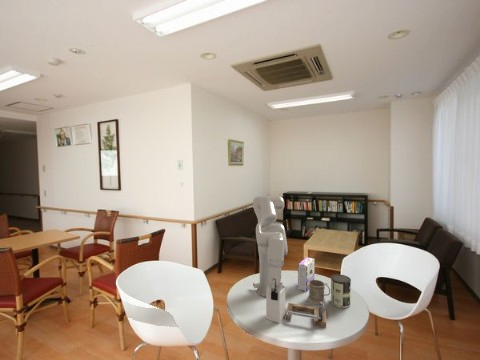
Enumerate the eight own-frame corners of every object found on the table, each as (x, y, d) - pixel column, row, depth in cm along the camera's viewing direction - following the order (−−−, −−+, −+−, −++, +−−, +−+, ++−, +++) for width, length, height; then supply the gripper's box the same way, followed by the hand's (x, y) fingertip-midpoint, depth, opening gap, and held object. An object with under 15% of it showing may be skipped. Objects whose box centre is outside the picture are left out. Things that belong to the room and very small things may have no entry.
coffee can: (348, 298, 145) (348, 274, 144) (352, 309, 135) (352, 283, 134) (329, 297, 147) (329, 273, 146) (331, 306, 137) (332, 281, 136)
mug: (303, 298, 146) (304, 277, 146) (316, 293, 151) (316, 274, 151) (323, 310, 134) (323, 288, 133) (336, 305, 139) (336, 283, 138)
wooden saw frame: (285, 320, 125) (285, 315, 125) (288, 307, 137) (288, 302, 137) (326, 327, 120) (326, 322, 120) (325, 313, 131) (325, 308, 131)
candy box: (305, 281, 168) (306, 256, 166) (314, 283, 164) (315, 258, 163) (297, 289, 156) (297, 263, 155) (306, 292, 153) (307, 265, 152)
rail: (286, 320, 125) (286, 311, 125) (287, 319, 126) (287, 310, 126) (320, 326, 121) (320, 317, 120) (320, 325, 122) (320, 316, 121)
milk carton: (279, 323, 123) (279, 285, 122) (266, 318, 127) (266, 281, 126) (285, 316, 129) (285, 279, 128) (272, 311, 133) (272, 276, 132)
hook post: (318, 323, 119) (318, 305, 119) (318, 318, 123) (318, 301, 122) (322, 323, 119) (322, 306, 118) (322, 318, 122) (322, 301, 122)
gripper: (271, 254, 136) (271, 286, 137) (264, 267, 119) (264, 303, 120) (285, 255, 133) (285, 288, 134) (280, 268, 117) (280, 305, 118)
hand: (275, 295), depth 127 cm, fingers closed on milk carton, 8 cm apart
